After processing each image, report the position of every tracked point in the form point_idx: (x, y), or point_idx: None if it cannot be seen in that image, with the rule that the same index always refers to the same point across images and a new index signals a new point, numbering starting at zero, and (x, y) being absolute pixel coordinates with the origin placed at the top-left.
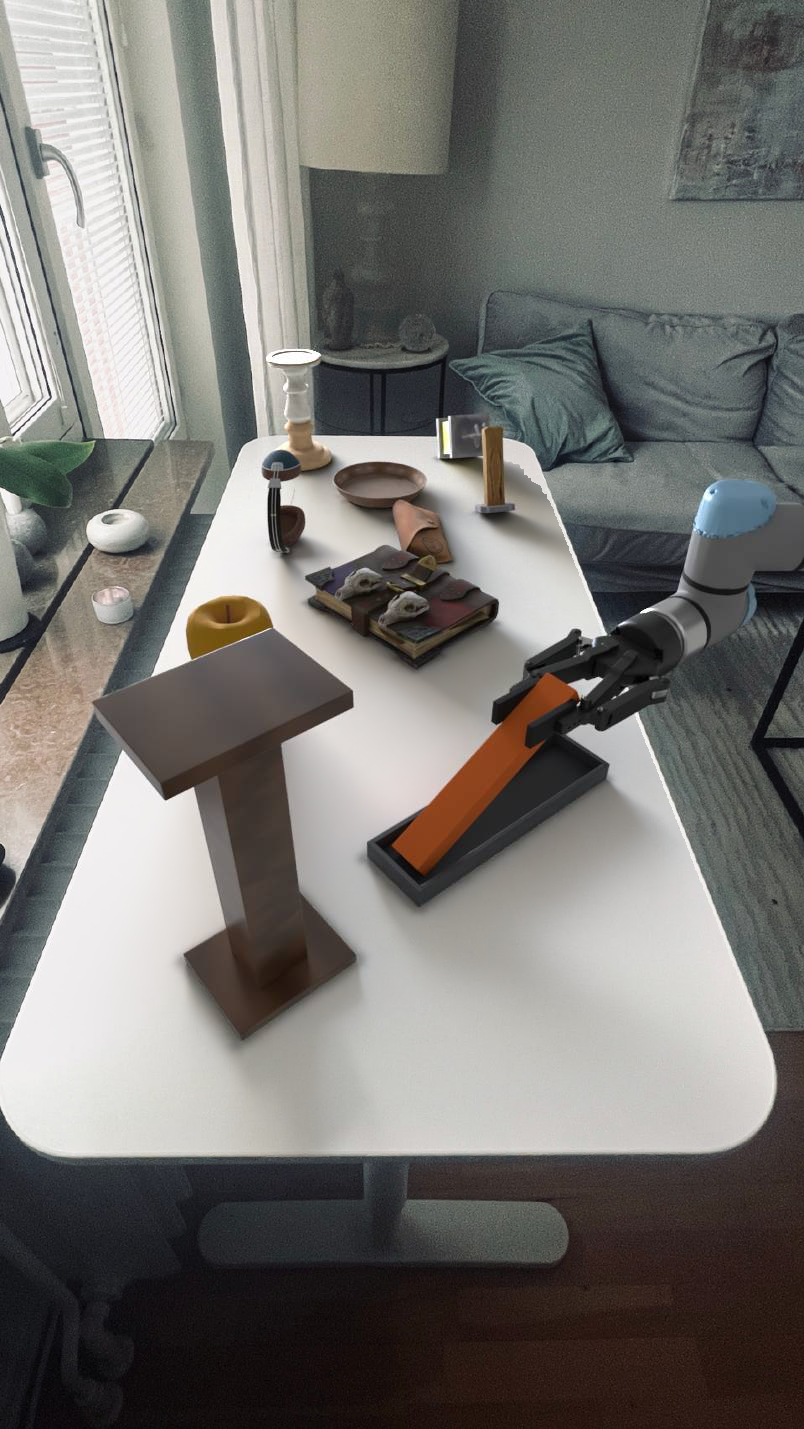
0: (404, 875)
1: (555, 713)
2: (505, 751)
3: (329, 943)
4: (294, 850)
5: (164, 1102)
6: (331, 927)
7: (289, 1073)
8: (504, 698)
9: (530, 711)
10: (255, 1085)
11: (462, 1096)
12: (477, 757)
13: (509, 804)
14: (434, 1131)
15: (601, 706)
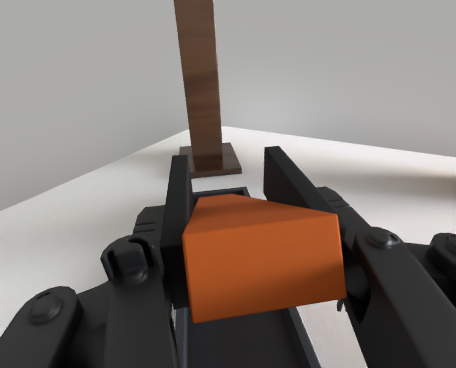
0: (201, 192)
1: (171, 189)
2: (217, 203)
3: (193, 169)
4: (182, 68)
5: (178, 140)
6: (202, 171)
7: (154, 157)
8: (278, 154)
9: (245, 207)
10: (160, 151)
11: (79, 187)
12: (243, 198)
13: (232, 323)
14: (83, 177)
15: (66, 313)
